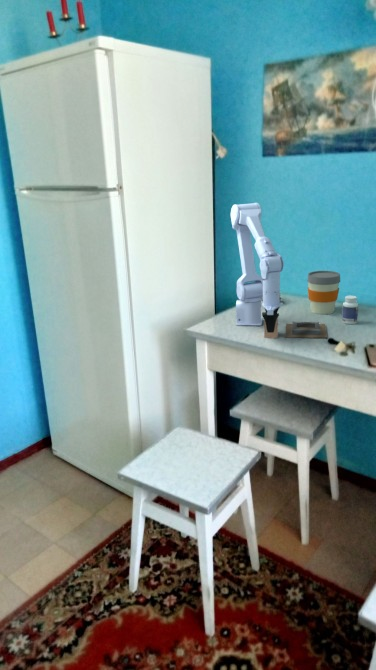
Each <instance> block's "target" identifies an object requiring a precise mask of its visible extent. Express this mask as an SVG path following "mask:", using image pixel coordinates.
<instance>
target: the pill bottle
mask: <svg viewBox="0 0 376 670" xmlns="http://www.w3.org/2000/svg"><path fill="white" fill-rule="evenodd" d="M358 315H359V303H358V302H357V296H355V295H346V296H345V297H344V301H343V303H342V313H341V322H342V323H343V324H346V325H354V324H357V323H358Z"/></svg>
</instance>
